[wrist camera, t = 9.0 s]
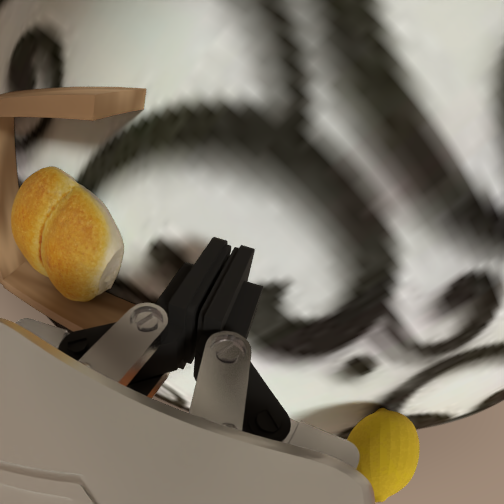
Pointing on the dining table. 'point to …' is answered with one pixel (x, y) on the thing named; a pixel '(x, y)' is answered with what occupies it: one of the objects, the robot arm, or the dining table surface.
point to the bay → (6, 187)
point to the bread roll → (66, 234)
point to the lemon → (386, 451)
